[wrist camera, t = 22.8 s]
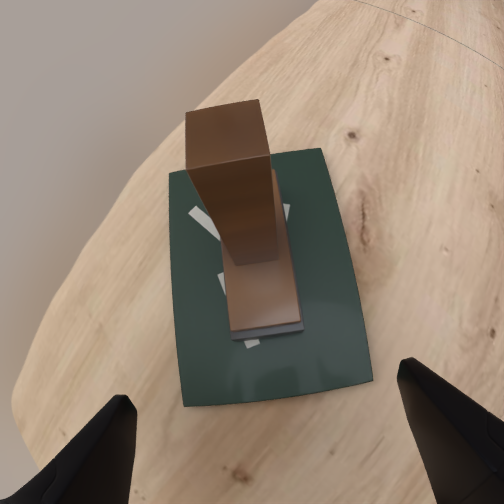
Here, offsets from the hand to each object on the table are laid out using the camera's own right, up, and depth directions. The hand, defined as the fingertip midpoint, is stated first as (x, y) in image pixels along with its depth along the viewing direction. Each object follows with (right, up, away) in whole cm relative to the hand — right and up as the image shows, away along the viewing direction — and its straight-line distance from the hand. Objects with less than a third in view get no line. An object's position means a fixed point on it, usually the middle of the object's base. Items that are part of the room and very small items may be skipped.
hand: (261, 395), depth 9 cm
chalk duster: (0, +4, +15) cm, 15 cm away
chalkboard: (0, +3, +15) cm, 16 cm away
